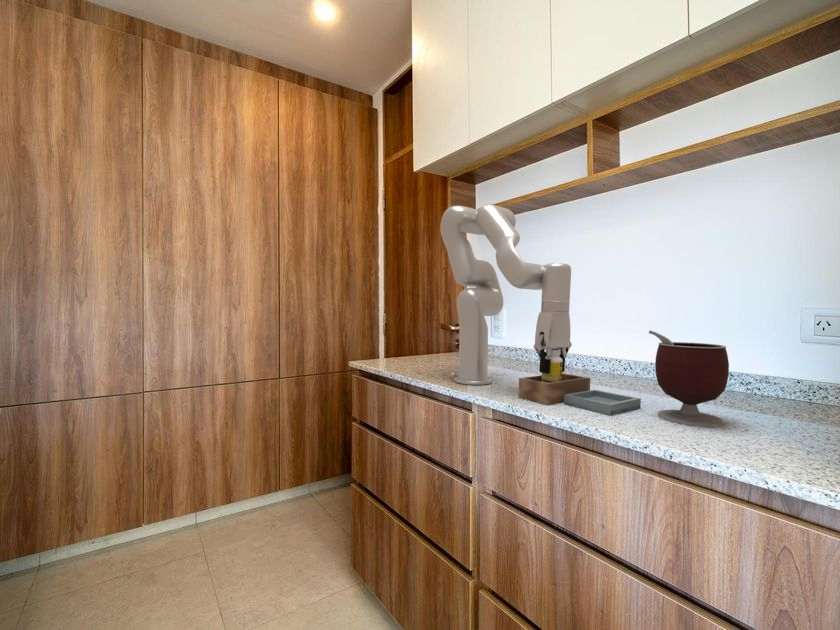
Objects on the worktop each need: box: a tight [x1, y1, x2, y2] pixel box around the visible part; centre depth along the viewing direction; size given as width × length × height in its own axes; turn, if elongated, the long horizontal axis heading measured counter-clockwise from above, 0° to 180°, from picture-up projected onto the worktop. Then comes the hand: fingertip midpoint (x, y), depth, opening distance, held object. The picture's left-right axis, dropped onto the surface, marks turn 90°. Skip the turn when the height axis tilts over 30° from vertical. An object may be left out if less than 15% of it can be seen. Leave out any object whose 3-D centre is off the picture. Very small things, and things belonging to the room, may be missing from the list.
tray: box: [563, 389, 642, 417], centre depth 104 cm, size 13×13×2 cm
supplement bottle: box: [541, 349, 563, 383], centre depth 114 cm, size 5×5×10 cm
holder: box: [518, 372, 591, 406], centre depth 114 cm, size 10×18×6 cm, turn 123°
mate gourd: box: [648, 329, 730, 428], centre depth 93 cm, size 16×14×20 cm
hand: (552, 371), depth 115 cm, fingers closed on supplement bottle, 5 cm apart
